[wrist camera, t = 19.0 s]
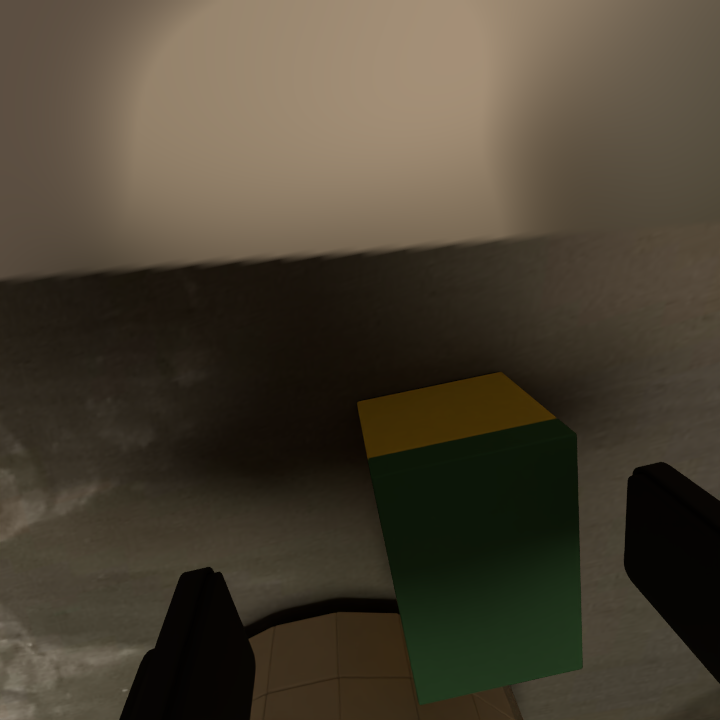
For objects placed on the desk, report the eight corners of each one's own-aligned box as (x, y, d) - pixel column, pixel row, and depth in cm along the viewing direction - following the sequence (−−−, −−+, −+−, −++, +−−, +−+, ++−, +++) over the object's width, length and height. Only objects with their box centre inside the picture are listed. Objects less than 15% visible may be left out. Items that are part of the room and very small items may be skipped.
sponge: (356, 401, 14) (371, 477, 10) (501, 370, 14) (577, 433, 10) (394, 583, 17) (419, 706, 12) (517, 556, 17) (583, 669, 13)
